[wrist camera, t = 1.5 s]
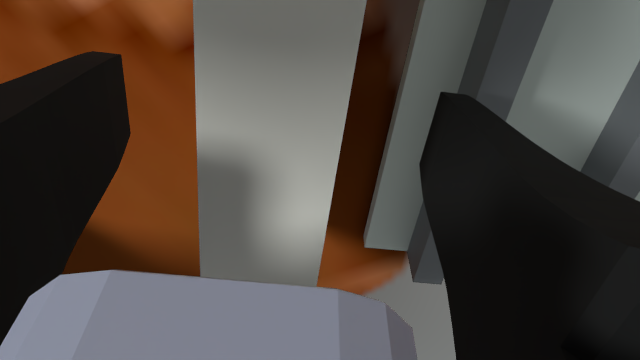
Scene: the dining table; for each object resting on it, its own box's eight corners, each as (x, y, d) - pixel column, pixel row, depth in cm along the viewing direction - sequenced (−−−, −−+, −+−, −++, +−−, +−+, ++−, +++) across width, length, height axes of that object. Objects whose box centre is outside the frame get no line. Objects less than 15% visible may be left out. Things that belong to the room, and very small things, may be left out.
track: (363, 236, 19) (367, 278, 17) (510, -379, 10) (550, -416, 8) (590, 256, 20) (615, 299, 18) (939, -299, 10) (1060, -317, 9)
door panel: (239, 180, 18) (202, 356, 12) (252, -163, 12) (190, -127, 6) (308, 186, 18) (302, 363, 12) (354, -148, 12) (384, -101, 6)
